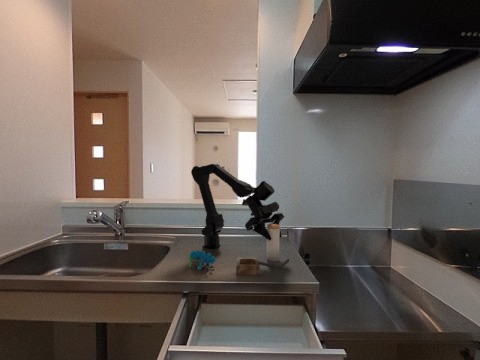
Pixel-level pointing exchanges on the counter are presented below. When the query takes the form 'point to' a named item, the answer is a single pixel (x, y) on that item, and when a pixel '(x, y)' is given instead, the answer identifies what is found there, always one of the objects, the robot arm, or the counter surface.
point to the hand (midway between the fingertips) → (275, 238)
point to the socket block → (247, 266)
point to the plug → (273, 242)
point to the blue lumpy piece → (200, 258)
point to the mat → (273, 263)
